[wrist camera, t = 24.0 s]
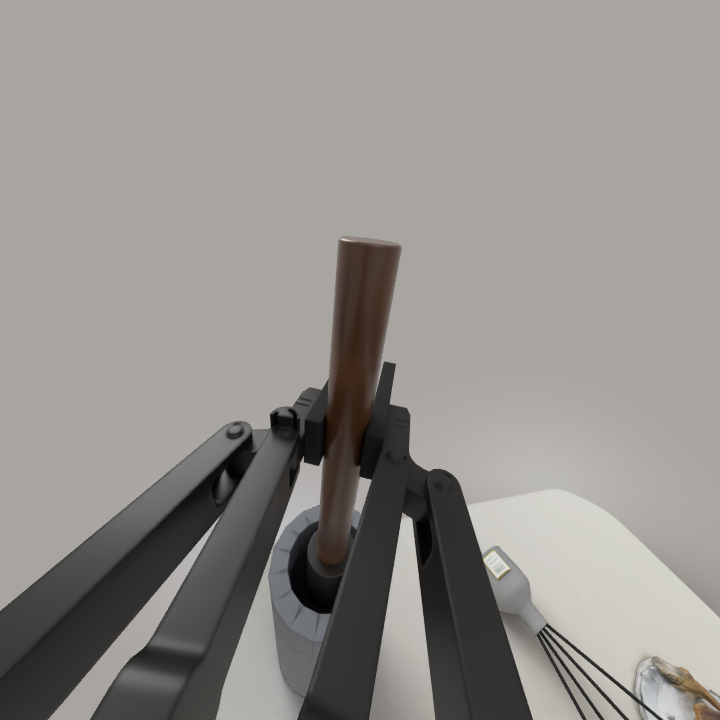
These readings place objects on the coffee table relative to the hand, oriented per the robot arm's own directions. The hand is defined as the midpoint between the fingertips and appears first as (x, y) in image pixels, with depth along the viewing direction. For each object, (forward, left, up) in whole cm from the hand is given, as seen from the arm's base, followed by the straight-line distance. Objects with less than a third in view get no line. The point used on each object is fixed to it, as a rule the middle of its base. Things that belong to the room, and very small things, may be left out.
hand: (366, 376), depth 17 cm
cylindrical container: (-2, -5, -27) cm, 28 cm away
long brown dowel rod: (-1, -5, -15) cm, 16 cm away
